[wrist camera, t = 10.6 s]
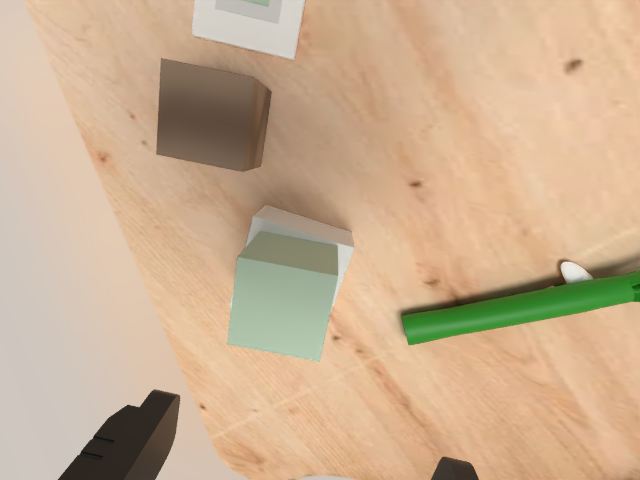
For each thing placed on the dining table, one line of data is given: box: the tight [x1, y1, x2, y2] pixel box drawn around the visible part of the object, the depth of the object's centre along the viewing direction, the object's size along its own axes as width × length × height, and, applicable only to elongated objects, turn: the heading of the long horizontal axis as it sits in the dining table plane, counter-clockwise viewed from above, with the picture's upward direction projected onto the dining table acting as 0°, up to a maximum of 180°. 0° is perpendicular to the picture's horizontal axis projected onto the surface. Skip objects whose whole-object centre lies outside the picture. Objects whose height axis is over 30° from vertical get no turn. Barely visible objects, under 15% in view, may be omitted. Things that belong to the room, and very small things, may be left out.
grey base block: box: [229, 205, 354, 313], centre depth 28 cm, size 8×8×5 cm
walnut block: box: [156, 58, 271, 172], centre depth 25 cm, size 6×6×6 cm
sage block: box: [227, 231, 338, 362], centre depth 23 cm, size 6×6×6 cm
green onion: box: [402, 262, 640, 345], centre depth 29 cm, size 5×3×30 cm
